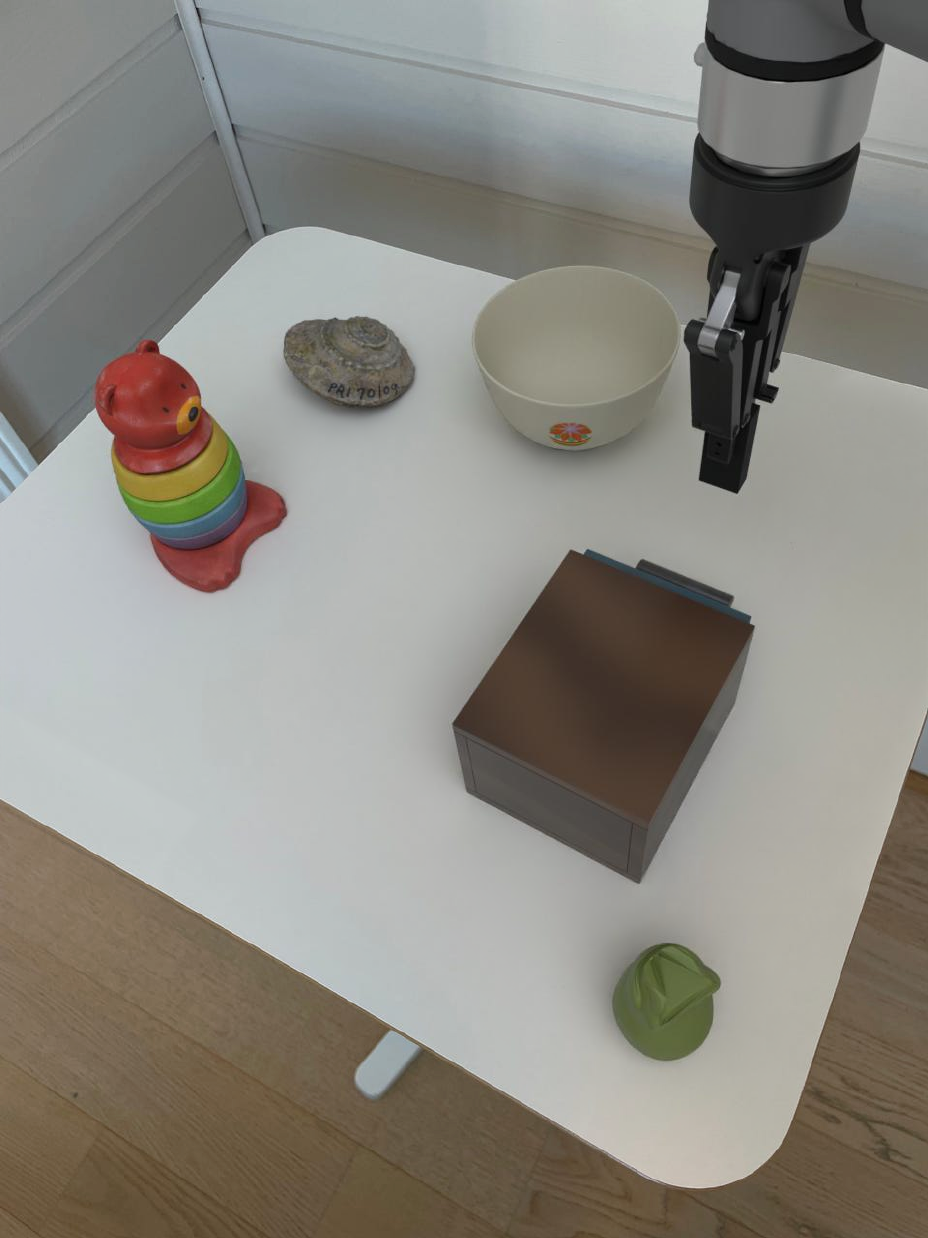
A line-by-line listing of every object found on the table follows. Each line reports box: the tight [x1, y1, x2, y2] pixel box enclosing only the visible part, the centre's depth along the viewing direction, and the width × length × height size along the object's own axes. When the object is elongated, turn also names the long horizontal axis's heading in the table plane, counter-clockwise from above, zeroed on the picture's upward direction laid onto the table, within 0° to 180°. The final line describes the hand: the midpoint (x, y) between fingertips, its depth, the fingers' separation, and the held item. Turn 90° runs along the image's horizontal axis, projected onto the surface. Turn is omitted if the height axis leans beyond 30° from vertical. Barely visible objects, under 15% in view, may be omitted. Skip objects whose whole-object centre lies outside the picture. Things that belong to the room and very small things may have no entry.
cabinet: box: [451, 549, 756, 885], centre depth 65 cm, size 15×13×10 cm
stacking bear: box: [93, 339, 288, 593], centre depth 75 cm, size 11×10×18 cm
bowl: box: [471, 265, 682, 452], centre depth 81 cm, size 16×16×10 cm
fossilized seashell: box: [282, 315, 416, 408], centre depth 90 cm, size 11×11×7 cm
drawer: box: [583, 548, 752, 624], centre depth 66 cm, size 18×12×8 cm, turn 148°
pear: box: [612, 942, 722, 1062], centre depth 54 cm, size 6×5×10 cm
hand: (722, 479), depth 66 cm, fingers closed
